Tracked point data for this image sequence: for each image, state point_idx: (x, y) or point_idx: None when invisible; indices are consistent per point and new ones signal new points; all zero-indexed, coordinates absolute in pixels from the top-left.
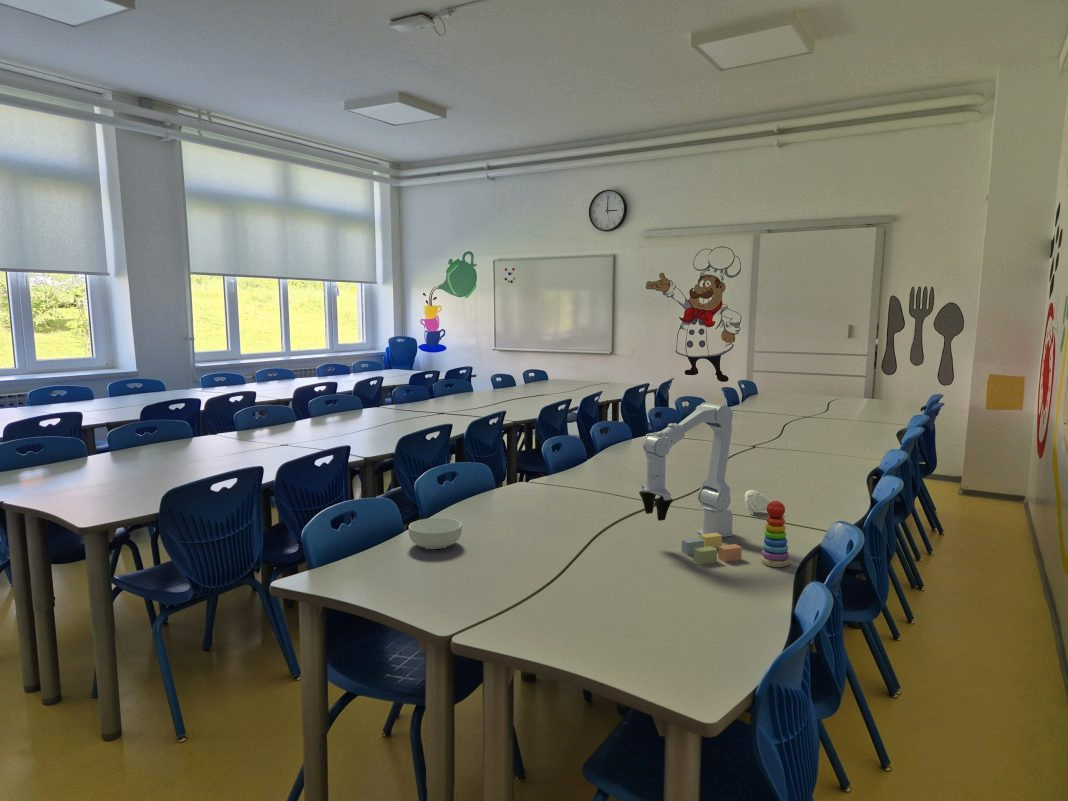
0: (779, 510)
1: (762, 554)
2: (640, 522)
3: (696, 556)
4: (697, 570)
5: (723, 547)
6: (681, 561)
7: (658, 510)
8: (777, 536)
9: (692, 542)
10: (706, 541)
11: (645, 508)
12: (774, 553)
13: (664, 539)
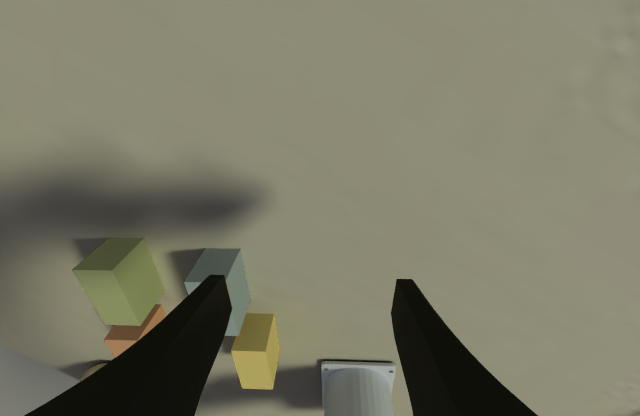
0: None
1: None
2: (606, 280)
3: (112, 253)
4: (50, 205)
5: (125, 345)
6: (142, 201)
7: (139, 340)
8: None
9: None
10: (236, 339)
11: (413, 307)
12: None
13: (383, 262)
